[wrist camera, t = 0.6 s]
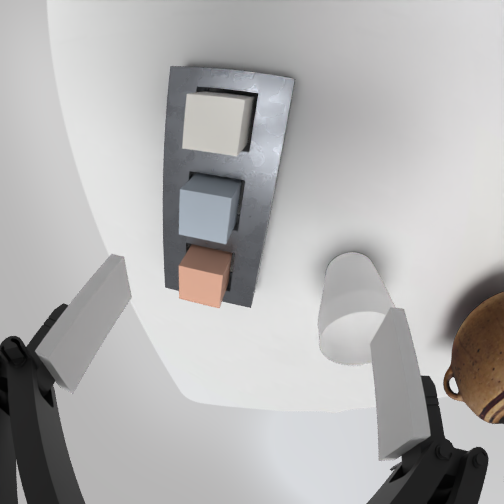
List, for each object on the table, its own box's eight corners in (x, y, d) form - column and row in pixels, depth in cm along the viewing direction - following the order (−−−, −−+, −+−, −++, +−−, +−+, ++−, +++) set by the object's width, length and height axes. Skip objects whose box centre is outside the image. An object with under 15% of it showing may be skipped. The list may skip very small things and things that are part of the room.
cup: (311, 293, 41) (309, 362, 31) (324, 238, 36) (328, 305, 26) (371, 301, 40) (383, 368, 30) (390, 248, 35) (415, 314, 25)
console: (185, 66, 27) (170, 66, 24) (295, 79, 27) (294, 78, 23) (175, 270, 43) (165, 287, 40) (255, 288, 42) (250, 307, 39)
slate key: (197, 172, 31) (180, 189, 27) (242, 180, 31) (231, 198, 27) (194, 213, 34) (178, 234, 30) (236, 221, 34) (226, 244, 30)
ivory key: (204, 91, 26) (186, 93, 22) (254, 96, 26) (244, 99, 22) (200, 137, 29) (182, 148, 25) (247, 144, 29) (236, 156, 24)
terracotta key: (193, 242, 36) (178, 265, 32) (232, 250, 36) (222, 275, 32) (192, 273, 39) (179, 298, 35) (228, 282, 39) (219, 308, 35)
